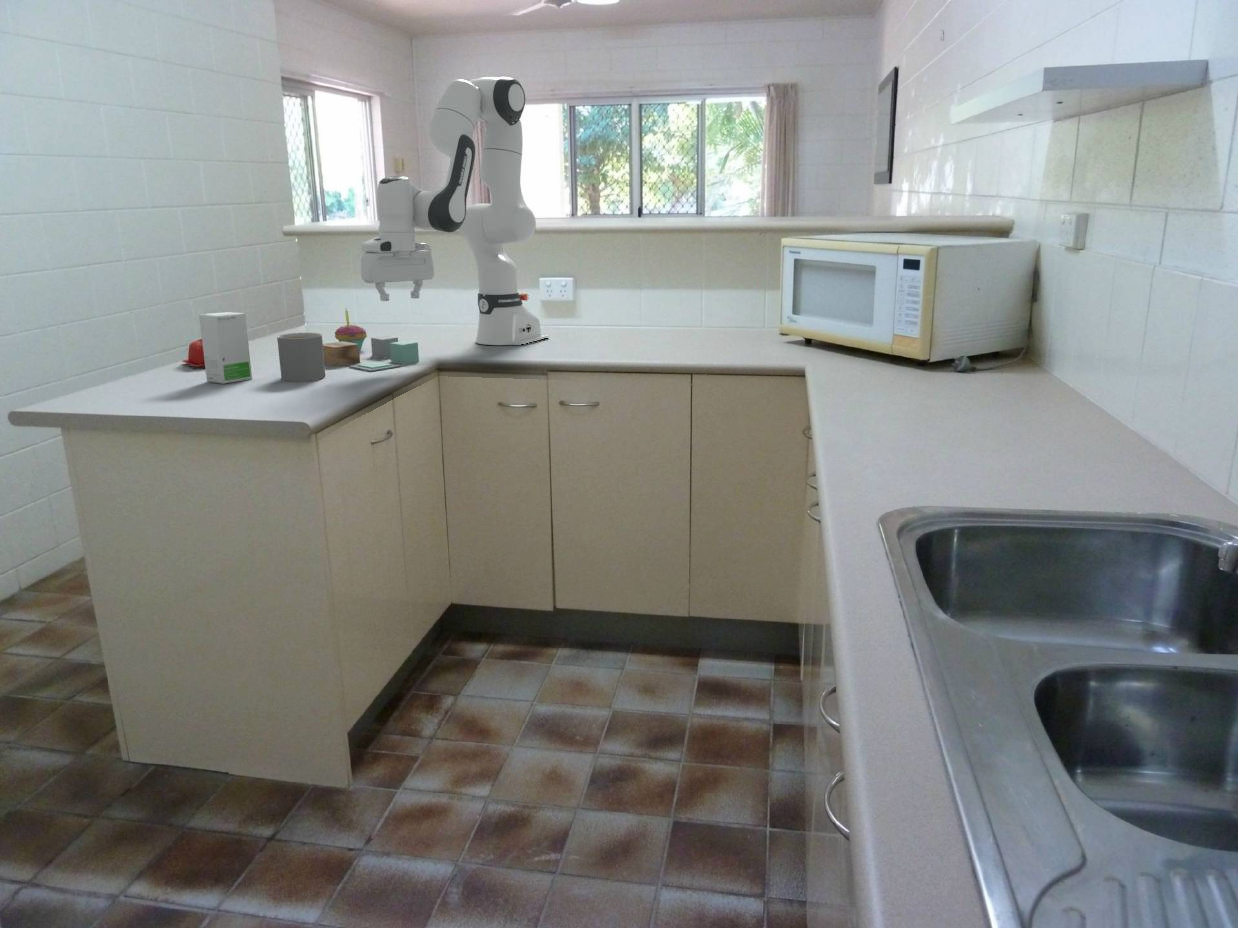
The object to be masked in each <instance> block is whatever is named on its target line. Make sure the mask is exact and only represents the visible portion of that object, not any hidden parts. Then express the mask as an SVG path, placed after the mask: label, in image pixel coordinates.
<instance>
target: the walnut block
mask: <svg viewBox="0 0 1238 928" xmlns="http://www.w3.org/2000/svg"><path fill="white" fill-rule="evenodd" d="M323 353H324V365H327V364H328V365H327V366H332V365H334V366H333V367H342V366H341V365H343V366H350V365H357V364H361V357H360V351H359V344H355V343H349V342H344V341H342V342H339V341H335V342H329V343H323Z"/></svg>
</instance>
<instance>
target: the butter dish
mask: <svg viewBox="0 0 1238 928" xmlns="http://www.w3.org/2000/svg"><path fill="white" fill-rule="evenodd" d="M187 356H188V357H187V359H183V360H181V361H182V363H185V364H187V365H190V366H191V367H193V368H194V367H195V368H201V369H203V368H205V360H204V352H203V343H202V338H200V339H197V340H195V341H192V342H190V343H189V345H188V355H187Z"/></svg>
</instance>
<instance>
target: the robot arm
mask: <svg viewBox="0 0 1238 928" xmlns="http://www.w3.org/2000/svg"><path fill="white" fill-rule="evenodd" d="M439 97H440V98H439V99H438V101H437V103H436V106H435V107H434V110H433V113H432V115H431V119H430V121H429V125H428V135H429V136H428V137H429V139H430V141H431V143H432V144H433V146H434V147H435V148H436V149H437V150H438V151H439V152H440V153H442V154H443V155H444V156H446V157H449V158H450V162H449V166H448V170H447V175H446V180H445V184H444V186H443V187H441V188H440V189H439V190H423V189H422V188H419V187H418V186H416V185H415V184H413V182H412V181H411V180H410V178H409V177H408V176H405V175H396V176H395V175H394V176H388V177H384V178H382V179H381V180H379V182H378V185H377V189H376V211H377V212H376V213H377V217H378V221H379V226H378V236H376V237H373V238H371V239H369V240H366V241H363V242H361V250H362V252H364V253H362V256H361V259H360V276H361V279H362V280H363V282H364V283H366V284H375V289H376V290H377V292H378V294H379V300H380V301H381V302H389V301H390V293H387V292H386V290H385V287H386V283H397V282H398V283H399V282H411V281H412V283H413V285H414V287H413V290H412V291H411V290H410V298H411V299H420V291H421V289H422V287H423V284H424V281H427V280H428V281H429V280H433V278H434V276H435V267H434V261H433V257H432V248H431V247H430V245H428V244H427V243H425V242H421V243H418V242H416V233H415V230H421V231H422V230H423V231H424V230H425V231H438V232H444V233H454V232H457V230H458V233H459V235H460V236H461V237H462V238H463V239H464V240H465V241H466V242H467V244H468V245H469V247H470V249H471V251H472V254H473V257H474V260H475V262H476V267H477V277H478V280H477V281H478V293H477V306H478V310H479V311H478V322H477V333H476V338H475V343H476V344H478V345H479V344H480V345H485V346H486V345H489V346H490V345H491V346H522V345H521V344H524V345H527V344H526V343H528V344H530V343H529V342H532V343H534V342H533V341H535V340H540V339H542V338H546V337H549V335H548V334H546V333H542V331H541V323H540V319H539V318H538V317H537V316H536V315H535V314H534V313H532V312H531V311H530V310H528V309H527V307H525V306H524V305H523V304H524V303H523V301H525V302H527V301H528V300H529V299H530V298H529V297H530V295H529V294H528V293H521V294H520V293H519V292H518V290H519V289H518V267H517V264H516V263H515V262H514V261H513V259H511V258H510V257H509V255H508V254H507V253H506V251H505V247H504V245H517V244H518V245H519V244H522V243H526V242H528V241H530V240H531V239H532V238H533V237H534V234H535V232H536V226H537V223H536V217H535V214H534V212H533V211H532V210H531V208H529V207H528V205H527V203H526V201H525V199H524V196H523V194H522V193H523V192H522V187H521V175H522V174H521V173H522V159H523V127H522V126H523V125H522V122H521V120H520V119H521V117H522V115H523V112H524V109H525V105H526V94H525V90H524V87H523V86H522V84H521V83H520V81H519V80H517V79H516V78H512V77H509V76H501V77H498V76H484V77H479V78H473V79H460V78H459V79H454V80H452V81H450V82H449V83H448V85H447V86H446V87H445V89H444V91H443V92H442V94H441V96H439ZM477 122H482V123H484V127H485V131H484V136H483V142H482V143H483V144H482V152H481V153H482V154H481V163H480V172H479V173H480V174H479V176H480V181H481V183H482V184H483V185H484V186H485V187H486V188H488V191H489V192H490V197H491V203H474V204H470V205H467V201H468V200H467V199H468V194H469V193H468V192H469V189H470V184H471V180H472V173H473V169H474V165H475V158H476V145H475V141H474V140H473V134H474V132H475V129H476V126H477ZM549 338H550V337H549Z"/></svg>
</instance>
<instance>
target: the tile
mask: <svg viewBox="0 0 1238 928" xmlns="http://www.w3.org/2000/svg"><path fill="white" fill-rule="evenodd" d="M401 367H402V364H398V363H392V362H385V361H380V360H379V361H373V362H366V363H358V364H352V365H348V368H350V369H354V370H360V371H364V372H369V373H373V372H379V371H385V370H389V369H396V368H401Z"/></svg>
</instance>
